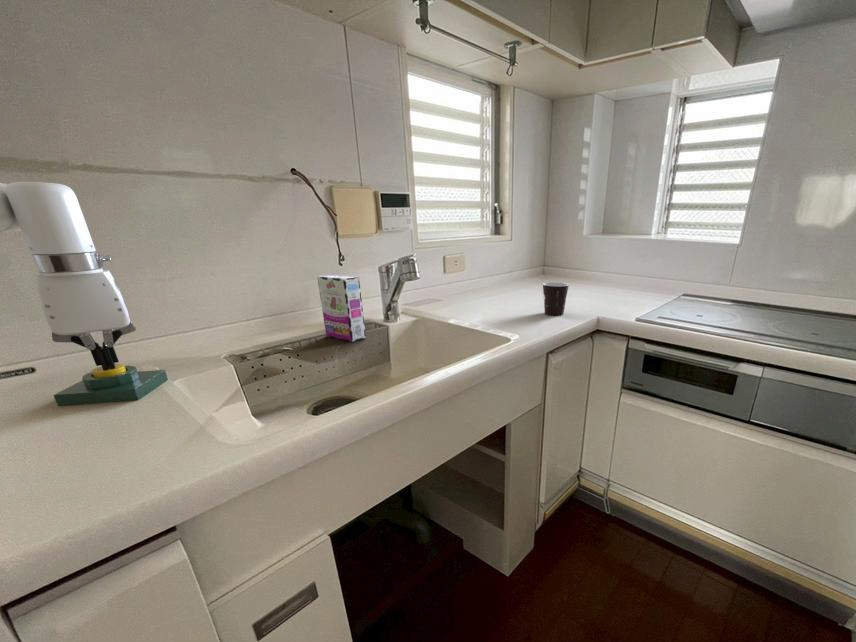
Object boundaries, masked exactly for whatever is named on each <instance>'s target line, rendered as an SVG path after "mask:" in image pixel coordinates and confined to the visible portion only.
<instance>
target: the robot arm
mask: <svg viewBox="0 0 856 642" xmlns="http://www.w3.org/2000/svg"><path fill="white" fill-rule="evenodd" d="M16 232H21V233H22V236H23V238H24V240H25V242H26V245H27V247H28V250H29V253H30V255H31V257H32V259H33V261H34V264H35V266H36V270H37V271H38V274H34V275H33V276H34V285H35V288H36V293H37V296H38V300H39V303H40V306H41V310H42V313H43V315H44V318H45V321H46V323H47V325H48V328H49V329H50V331H51V340H52V342H54V343H74V344H76V345H78V346H80V347H83V348H85V349H87V350H89V351H90V354H91V356H92V358H93V361H94V363H95V366H96V367H101V366H102V368H103V370H107V369H109V368H110V369H115V364H118V363H119V362H120V361H119V357H118V355H117V353H116V350H115V347H114V345H115V344H116V343H117V341H118V340H119V339H120V338H121V337H122V336H125V335H128V334H131V333H134V332H135V331H136V330H137V327H136V326H135V324H134V323H133V322H132V320H131V316H130V313H129V310H128V307H127V305H126V302H125V300H124V298H123V297H124V296H123V294H122V293H121V290H120V287H119V286H118V283H117V282H116V280H115V278H114V276H113V275H112V273H111V272H110V270H109V269H103V267H104V265H107V264H112V260H111V256H110V255H103V254H100V253H98V252H97V250H96V247H95V244H94V242H93V238H92V236H91V233H90V230H89V228H88V225H87V222H86V219H85V216H84V213H83V211H82V207H81V205H80V202H79V200H78V198H77V195H76V193H75V192H74V190H73V189H72V188H71V187H70V186H69V185H68V186H67V185H66V184H62V183H57V182H56V183H55V182H45V181H44V182H43V181H14V182H10V183H4V182H0V234H5V233H16ZM95 332H102V337H103V341H102V345H101V346H100V344H99V343H98V342H96V340H95V339H94V337H93V335H92V334H91V333H95Z"/></svg>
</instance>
